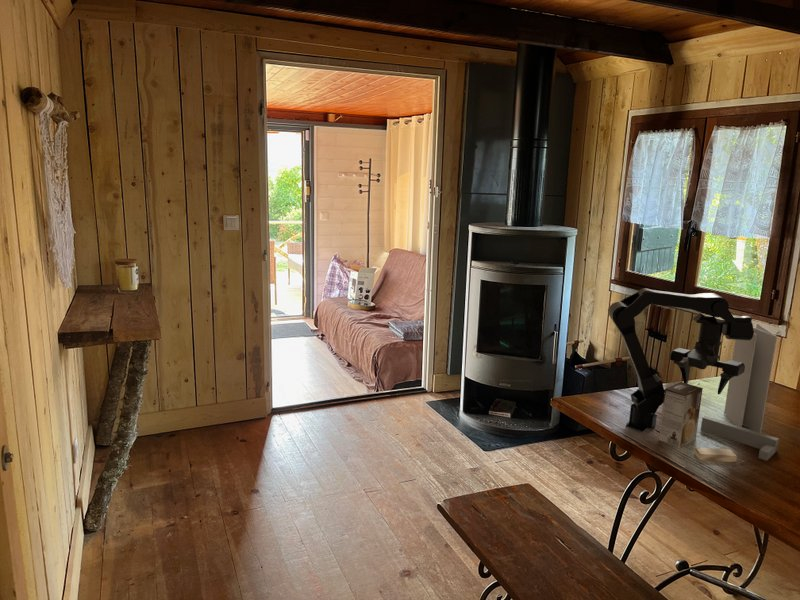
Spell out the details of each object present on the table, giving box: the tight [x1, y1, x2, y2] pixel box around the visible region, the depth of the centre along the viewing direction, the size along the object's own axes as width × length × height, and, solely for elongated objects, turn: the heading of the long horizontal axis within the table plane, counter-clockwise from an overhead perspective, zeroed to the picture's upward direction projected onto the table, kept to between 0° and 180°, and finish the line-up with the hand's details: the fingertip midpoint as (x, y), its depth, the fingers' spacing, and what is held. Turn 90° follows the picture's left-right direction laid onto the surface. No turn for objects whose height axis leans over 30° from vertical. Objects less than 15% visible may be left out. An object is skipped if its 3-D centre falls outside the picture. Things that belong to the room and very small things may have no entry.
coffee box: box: [658, 381, 704, 449], centre depth 162 cm, size 9×6×16 cm
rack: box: [700, 415, 780, 462], centre depth 162 cm, size 19×8×5 cm, turn 42°
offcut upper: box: [694, 447, 737, 463], centre depth 153 cm, size 9×4×2 cm, turn 85°
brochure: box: [723, 323, 778, 433], centre depth 174 cm, size 14×6×30 cm, turn 168°
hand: (702, 389), depth 169 cm, fingers open, 9 cm apart
